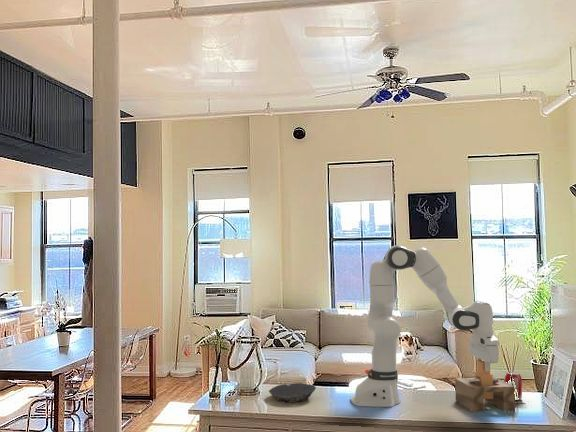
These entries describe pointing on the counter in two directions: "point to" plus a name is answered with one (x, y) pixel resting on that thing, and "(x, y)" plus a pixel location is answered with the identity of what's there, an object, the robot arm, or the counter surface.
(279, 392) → the bowl
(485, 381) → the stepped wooden block
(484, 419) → the counter surface
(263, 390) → the counter surface
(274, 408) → the counter surface
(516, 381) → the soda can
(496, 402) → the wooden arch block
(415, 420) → the counter surface
